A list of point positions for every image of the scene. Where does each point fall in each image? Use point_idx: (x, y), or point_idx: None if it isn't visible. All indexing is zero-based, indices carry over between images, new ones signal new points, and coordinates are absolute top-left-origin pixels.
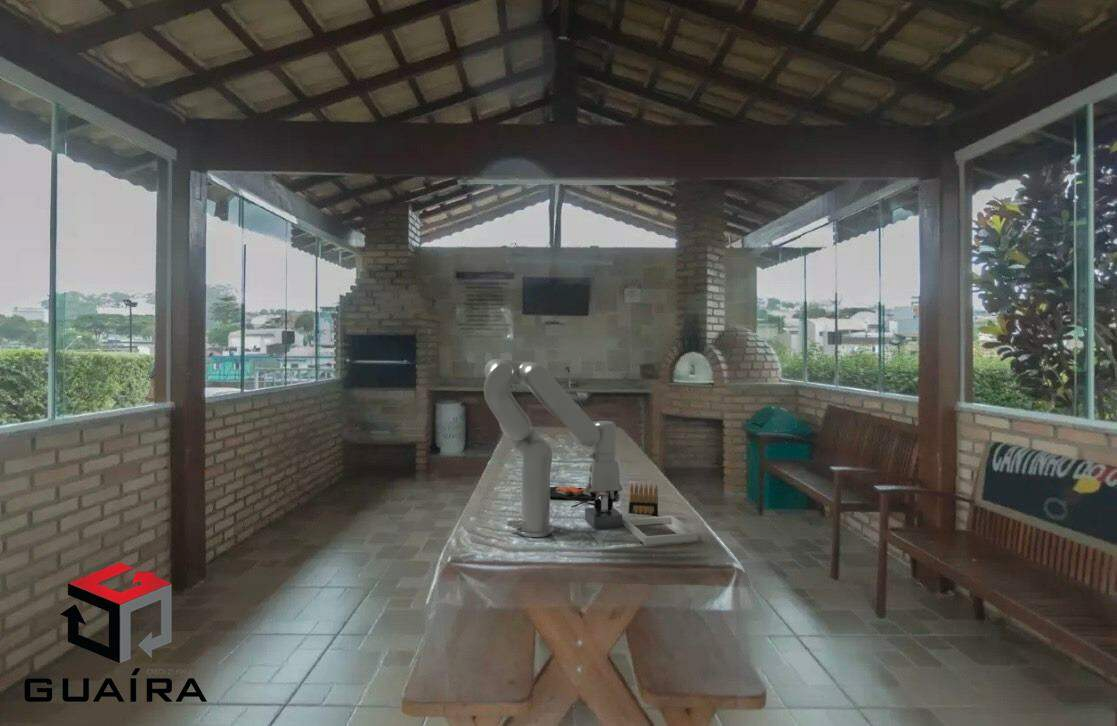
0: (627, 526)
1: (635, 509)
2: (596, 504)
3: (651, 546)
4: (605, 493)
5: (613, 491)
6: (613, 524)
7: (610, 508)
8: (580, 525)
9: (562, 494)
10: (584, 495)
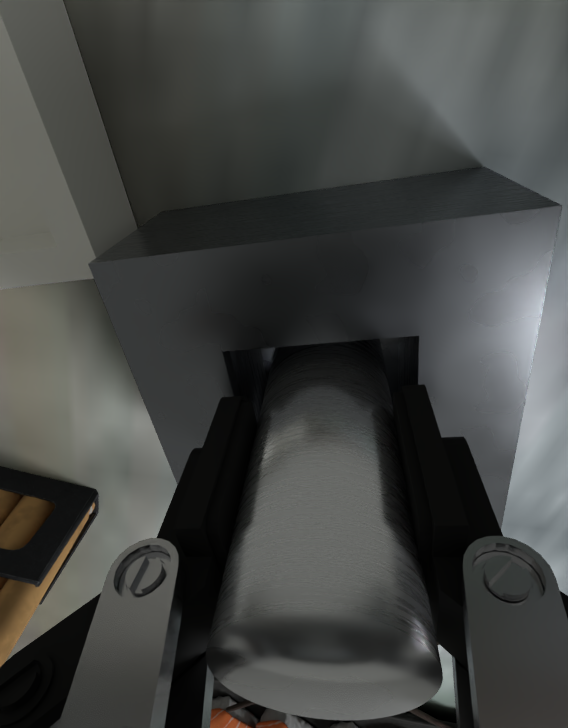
0: (79, 141)
1: (22, 519)
2: (466, 476)
3: None
4: (267, 693)
5: (62, 720)
6: (243, 214)
7: (233, 409)
8: (536, 366)
9: None
10: (310, 718)
